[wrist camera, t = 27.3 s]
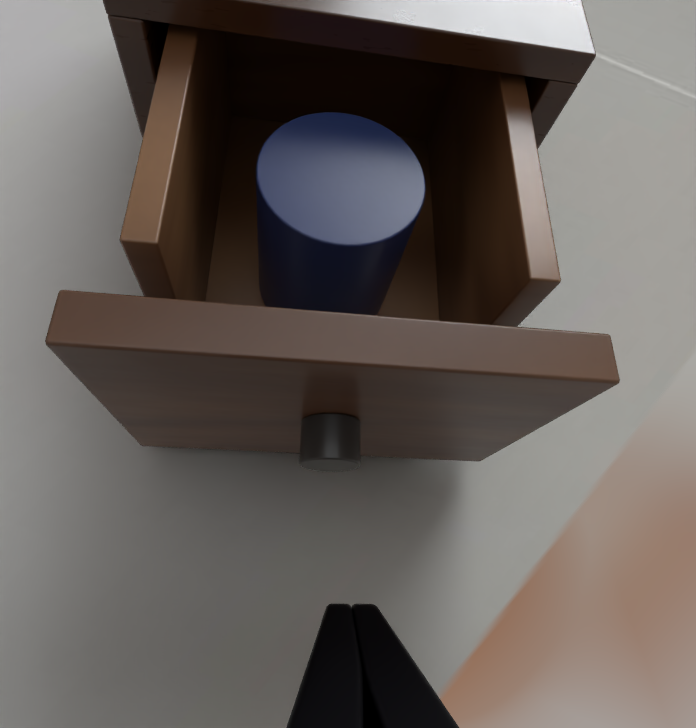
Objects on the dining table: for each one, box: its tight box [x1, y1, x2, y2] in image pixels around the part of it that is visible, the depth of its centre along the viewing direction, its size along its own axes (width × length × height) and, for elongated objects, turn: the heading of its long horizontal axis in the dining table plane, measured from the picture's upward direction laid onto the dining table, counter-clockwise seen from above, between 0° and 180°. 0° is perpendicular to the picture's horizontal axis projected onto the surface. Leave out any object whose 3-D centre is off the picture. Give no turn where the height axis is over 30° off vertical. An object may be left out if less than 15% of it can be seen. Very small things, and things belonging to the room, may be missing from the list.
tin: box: [256, 112, 426, 315], centre depth 16 cm, size 5×5×6 cm
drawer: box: [45, 24, 620, 472], centre depth 16 cm, size 16×12×8 cm
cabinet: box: [103, 0, 596, 149], centre depth 20 cm, size 16×13×10 cm
